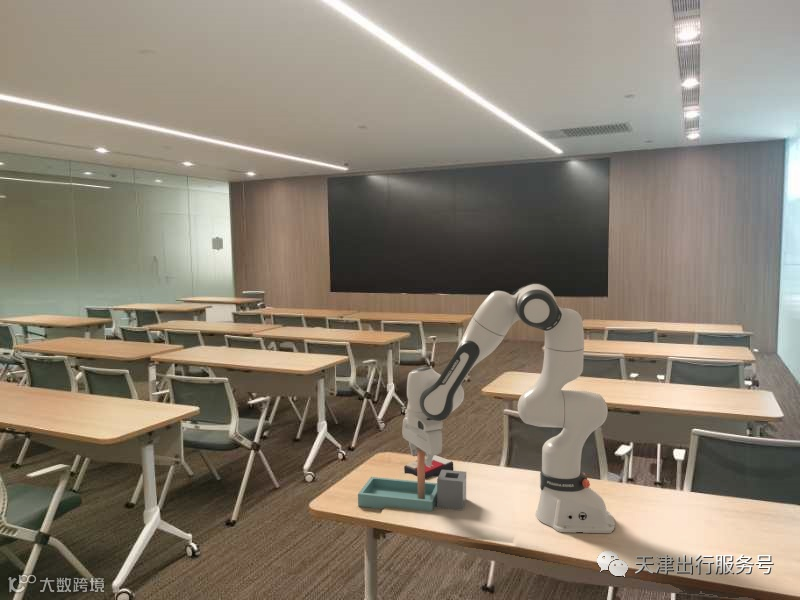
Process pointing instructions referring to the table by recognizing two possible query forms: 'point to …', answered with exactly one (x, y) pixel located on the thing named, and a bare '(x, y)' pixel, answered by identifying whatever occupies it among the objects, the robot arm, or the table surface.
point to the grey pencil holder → (451, 489)
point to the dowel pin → (421, 474)
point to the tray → (396, 494)
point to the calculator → (430, 467)
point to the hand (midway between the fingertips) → (421, 460)
